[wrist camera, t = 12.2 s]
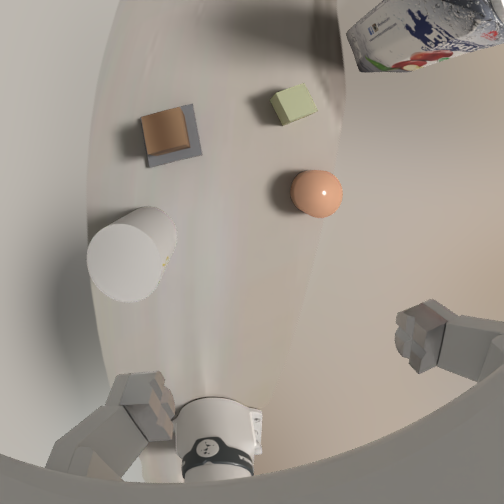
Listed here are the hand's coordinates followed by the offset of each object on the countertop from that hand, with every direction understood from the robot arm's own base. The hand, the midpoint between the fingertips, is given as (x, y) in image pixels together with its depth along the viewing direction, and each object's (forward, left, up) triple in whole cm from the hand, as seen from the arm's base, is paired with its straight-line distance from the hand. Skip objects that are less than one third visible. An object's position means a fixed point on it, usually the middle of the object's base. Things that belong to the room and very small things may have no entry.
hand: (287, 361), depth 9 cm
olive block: (+13, -10, -31) cm, 35 cm away
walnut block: (+12, +6, -30) cm, 32 cm away
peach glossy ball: (+1, -11, -31) cm, 33 cm away
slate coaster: (+12, +6, -31) cm, 33 cm away
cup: (-1, +12, -31) cm, 33 cm away
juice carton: (+22, -26, -31) cm, 46 cm away
